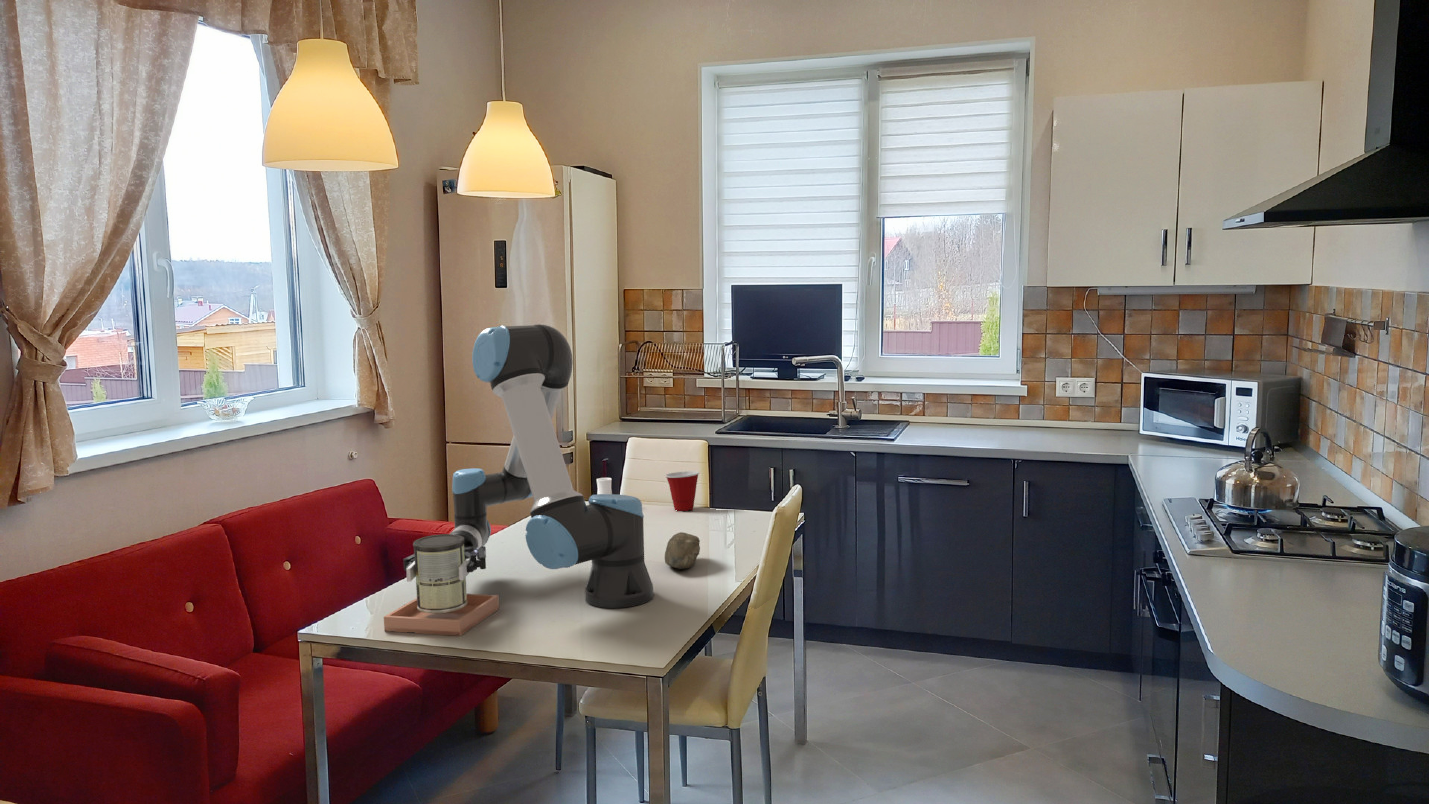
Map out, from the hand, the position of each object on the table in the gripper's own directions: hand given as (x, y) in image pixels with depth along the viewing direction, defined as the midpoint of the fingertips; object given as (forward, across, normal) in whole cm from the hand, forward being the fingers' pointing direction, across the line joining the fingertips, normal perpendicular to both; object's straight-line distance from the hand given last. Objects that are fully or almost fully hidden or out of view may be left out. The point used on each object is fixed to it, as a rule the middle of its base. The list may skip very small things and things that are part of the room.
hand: (434, 574), depth 194 cm
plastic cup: (-103, -49, -12) cm, 115 cm away
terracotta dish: (-4, 0, -11) cm, 12 cm away
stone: (-39, -50, -11) cm, 65 cm away
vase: (-106, -24, -12) cm, 110 cm away
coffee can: (-4, 0, -8) cm, 9 cm away
